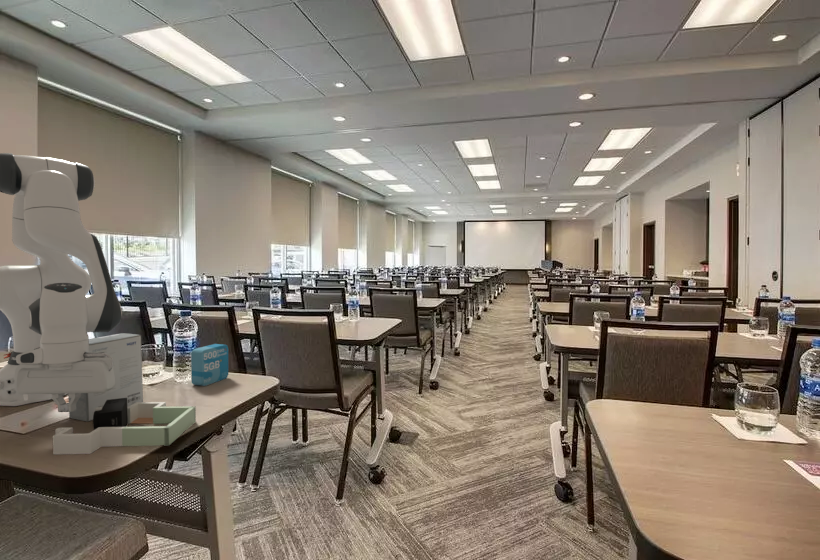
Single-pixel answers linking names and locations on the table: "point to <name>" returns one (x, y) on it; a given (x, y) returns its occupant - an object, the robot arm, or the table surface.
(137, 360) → the hard drive box
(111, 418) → the digital camera
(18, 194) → the robot arm
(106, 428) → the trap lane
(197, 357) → the data package
